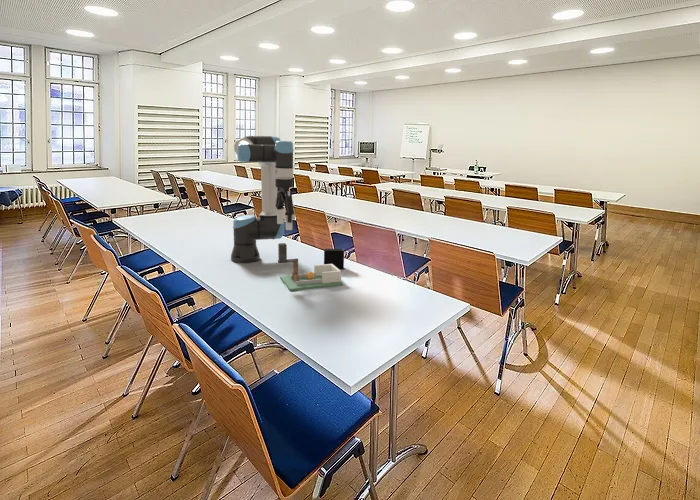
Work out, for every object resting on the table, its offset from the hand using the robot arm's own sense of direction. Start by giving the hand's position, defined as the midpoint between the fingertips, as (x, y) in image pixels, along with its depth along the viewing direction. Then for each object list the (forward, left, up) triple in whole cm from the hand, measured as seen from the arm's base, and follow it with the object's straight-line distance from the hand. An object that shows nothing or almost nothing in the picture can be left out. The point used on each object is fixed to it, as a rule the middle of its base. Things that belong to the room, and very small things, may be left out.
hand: (284, 226), depth 193 cm
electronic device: (-17, +30, -27) cm, 44 cm away
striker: (0, +2, -25) cm, 25 cm away
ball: (0, +12, -24) cm, 27 cm away
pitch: (0, +13, -27) cm, 29 cm away
